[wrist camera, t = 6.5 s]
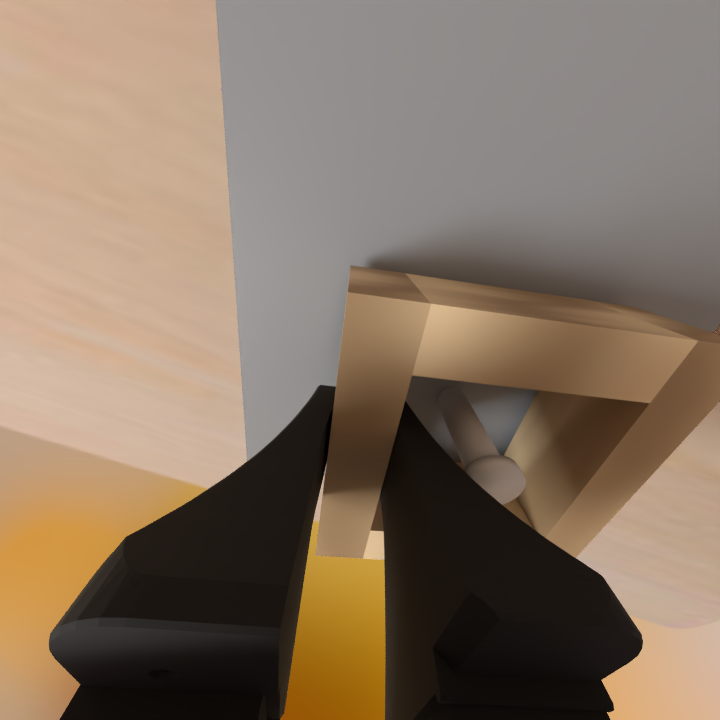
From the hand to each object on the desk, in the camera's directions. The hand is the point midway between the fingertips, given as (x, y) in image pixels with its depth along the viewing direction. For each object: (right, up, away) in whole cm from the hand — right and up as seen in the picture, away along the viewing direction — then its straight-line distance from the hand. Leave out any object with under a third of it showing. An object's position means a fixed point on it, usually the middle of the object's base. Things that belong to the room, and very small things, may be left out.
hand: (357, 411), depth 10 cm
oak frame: (+4, 0, +1) cm, 4 cm away
